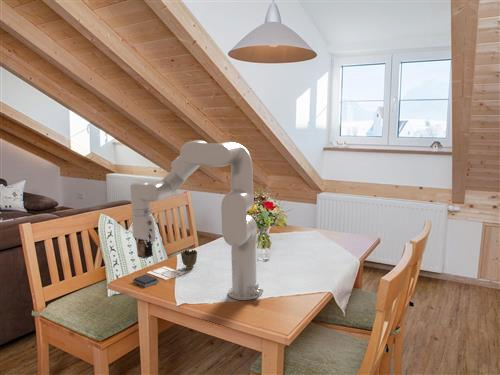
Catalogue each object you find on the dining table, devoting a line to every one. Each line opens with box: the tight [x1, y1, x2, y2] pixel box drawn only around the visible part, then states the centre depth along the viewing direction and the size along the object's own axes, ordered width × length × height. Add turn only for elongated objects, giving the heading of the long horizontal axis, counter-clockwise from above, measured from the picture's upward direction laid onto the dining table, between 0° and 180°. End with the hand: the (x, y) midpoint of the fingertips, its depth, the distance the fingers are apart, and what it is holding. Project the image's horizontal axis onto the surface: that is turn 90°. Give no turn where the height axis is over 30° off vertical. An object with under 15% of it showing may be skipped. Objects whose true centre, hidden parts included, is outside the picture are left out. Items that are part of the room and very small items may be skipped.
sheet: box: [146, 266, 185, 281], centre depth 190 cm, size 14×10×1 cm
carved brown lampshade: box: [180, 249, 198, 270], centre depth 195 cm, size 8×7×8 cm
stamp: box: [136, 240, 154, 259], centre depth 177 cm, size 4×4×7 cm
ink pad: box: [132, 273, 160, 288], centre depth 179 cm, size 9×7×2 cm
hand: (145, 254), depth 177 cm, fingers closed on stamp, 4 cm apart
